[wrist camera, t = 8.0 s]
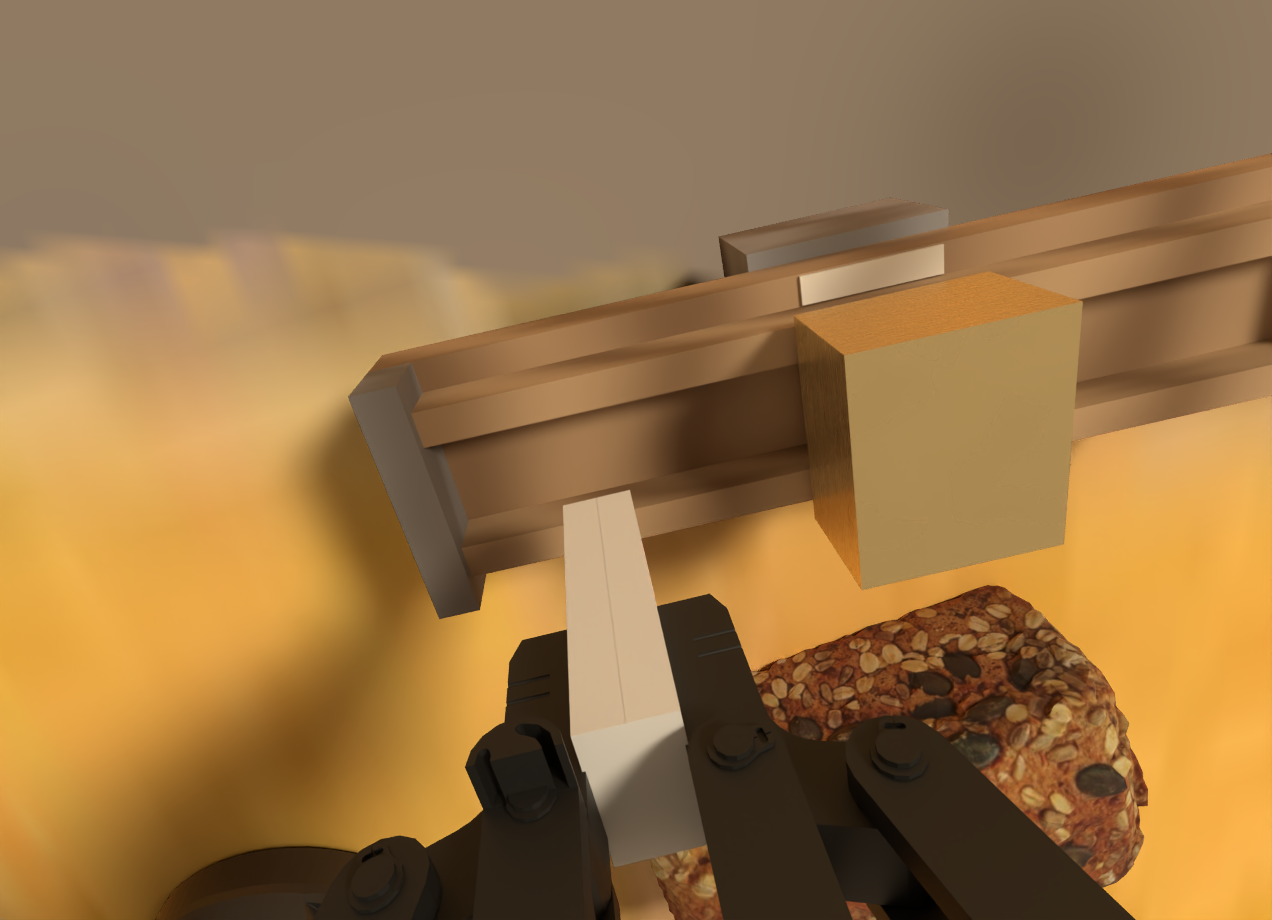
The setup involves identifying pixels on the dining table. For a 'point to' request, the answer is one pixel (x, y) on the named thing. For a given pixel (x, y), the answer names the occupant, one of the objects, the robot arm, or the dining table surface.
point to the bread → (966, 725)
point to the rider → (940, 423)
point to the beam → (768, 363)
